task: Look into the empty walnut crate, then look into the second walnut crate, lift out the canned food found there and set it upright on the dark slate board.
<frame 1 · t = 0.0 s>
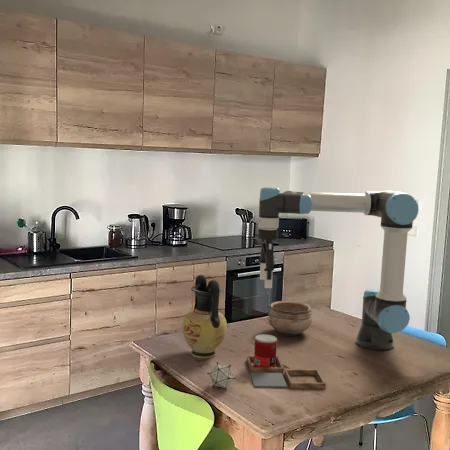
hand: (265, 283, 207), 28 cm above the table, tool pointing down, fingers open, 13 cm apart
amphora: (203, 354, 208), on the table
canned food: (264, 367, 198), resting in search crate
cooking pot: (289, 333, 236), on the table
game die: (221, 387, 179), on the table
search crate: (264, 366, 198), on the table
slate board: (268, 380, 185), on the table
empty crate: (304, 381, 186), on the table
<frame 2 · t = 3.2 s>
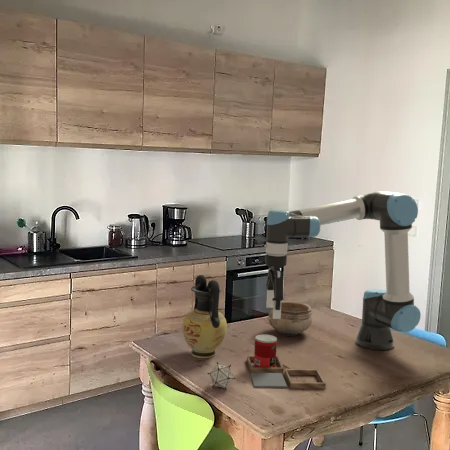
hand: (273, 312, 193), 21 cm above the table, tool pointing down, fingers open, 13 cm apart
nothing on the table moved.
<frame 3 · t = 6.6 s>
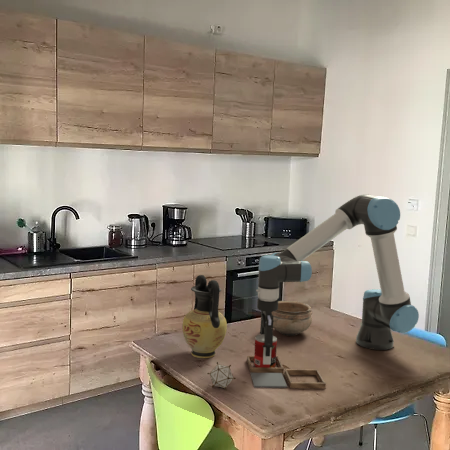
hand: (265, 359, 197), 3 cm above the table, tool pointing down, fingers closed on canned food, 8 cm apart
canned food: (264, 367, 198), resting in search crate, touching gripper
everything else where it was.
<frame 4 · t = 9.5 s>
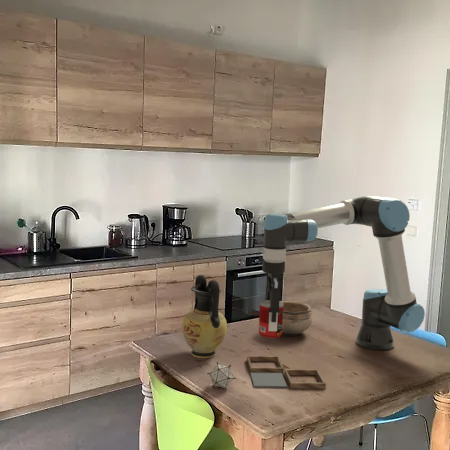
hand: (270, 326, 183), 19 cm above the table, tool pointing down, fingers closed on canned food, 8 cm apart
canned food: (270, 335, 183), point 16 cm above the table, touching gripper
everything else where it was.
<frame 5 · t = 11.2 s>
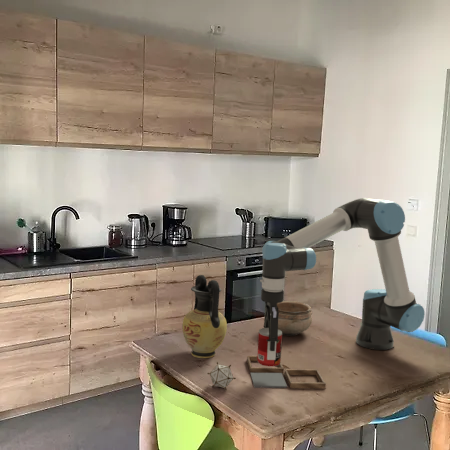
hand: (269, 354, 184), 9 cm above the table, tool pointing down, fingers closed on canned food, 8 cm apart
canned food: (268, 363, 184), point 6 cm above the table, touching gripper
everything else where it was.
when the fingers open (4 cm above the table, at t = 12.6 s): canned food stays where it is, resting on slate board.
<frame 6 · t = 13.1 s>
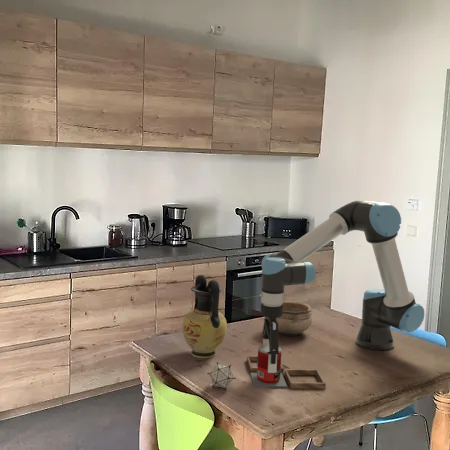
hand: (269, 364, 185), 6 cm above the table, tool pointing down, fingers open, 13 cm apart
canned food: (268, 379, 185), resting on slate board
everything else where it was.
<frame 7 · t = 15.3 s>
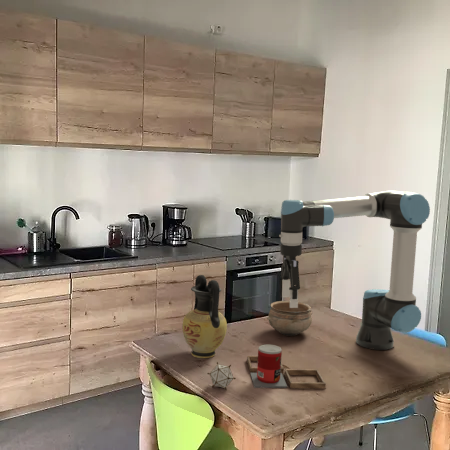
hand: (289, 302, 194), 25 cm above the table, tool pointing down, fingers open, 13 cm apart
nothing on the table moved.
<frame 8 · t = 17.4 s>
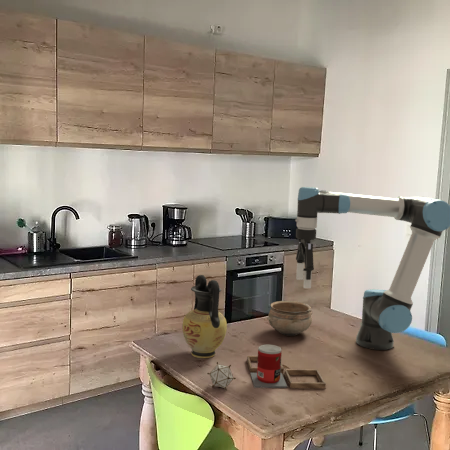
hand: (303, 283, 206), 29 cm above the table, tool pointing down, fingers open, 13 cm apart
nothing on the table moved.
at the end: canned food inside the target area on the slate board (0.0 cm from its centre), point 0.4 cm above the slate board's base; canned food tilted 0°; the gripper is holding nothing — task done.
